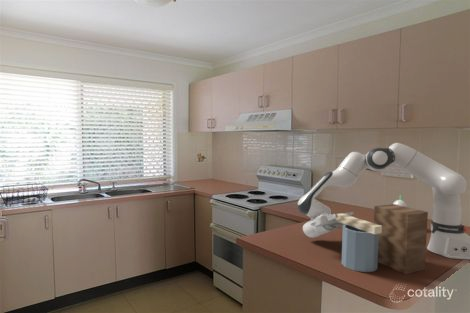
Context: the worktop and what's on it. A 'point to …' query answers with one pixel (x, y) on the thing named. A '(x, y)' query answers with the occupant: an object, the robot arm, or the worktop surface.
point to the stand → (401, 237)
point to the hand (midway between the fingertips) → (344, 214)
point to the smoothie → (400, 202)
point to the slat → (359, 223)
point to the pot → (359, 249)
